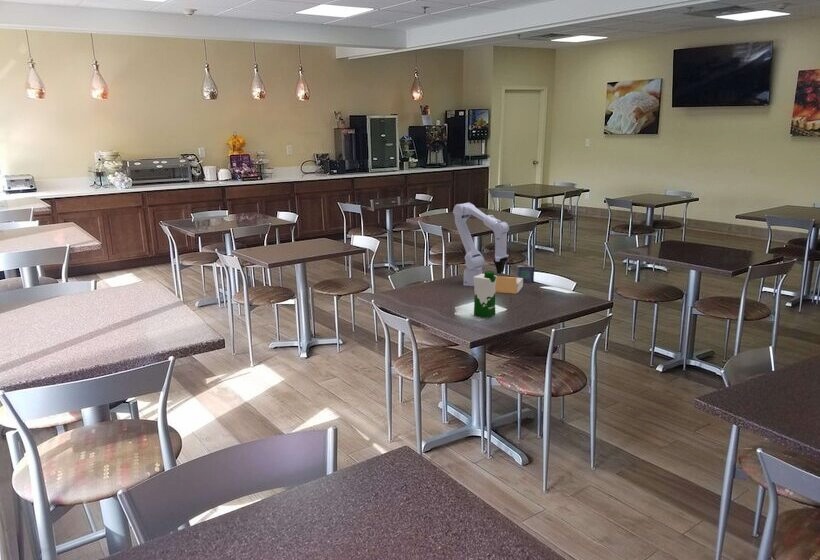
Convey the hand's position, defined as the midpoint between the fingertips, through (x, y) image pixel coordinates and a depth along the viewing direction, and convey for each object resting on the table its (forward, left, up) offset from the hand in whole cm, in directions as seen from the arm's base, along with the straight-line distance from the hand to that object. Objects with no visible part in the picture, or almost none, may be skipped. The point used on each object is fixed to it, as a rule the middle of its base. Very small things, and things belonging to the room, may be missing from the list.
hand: (500, 272), depth 307 cm
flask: (+9, +20, -10) cm, 24 cm away
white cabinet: (0, +2, -9) cm, 10 cm away
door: (0, -6, -9) cm, 11 cm away
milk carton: (+3, -43, -10) cm, 44 cm away
